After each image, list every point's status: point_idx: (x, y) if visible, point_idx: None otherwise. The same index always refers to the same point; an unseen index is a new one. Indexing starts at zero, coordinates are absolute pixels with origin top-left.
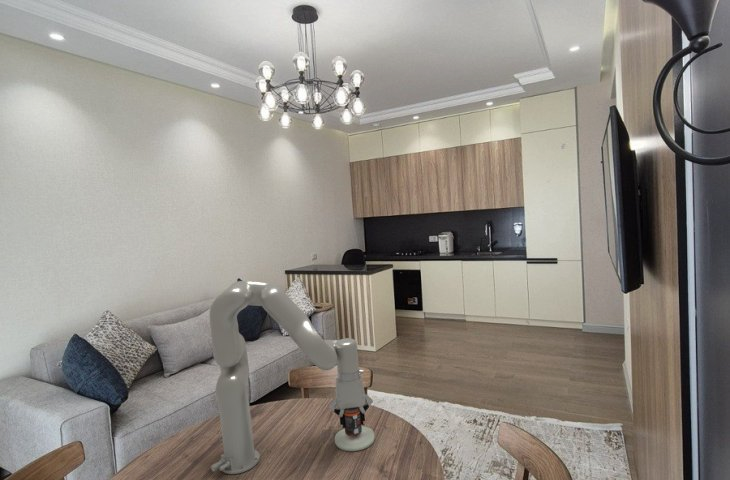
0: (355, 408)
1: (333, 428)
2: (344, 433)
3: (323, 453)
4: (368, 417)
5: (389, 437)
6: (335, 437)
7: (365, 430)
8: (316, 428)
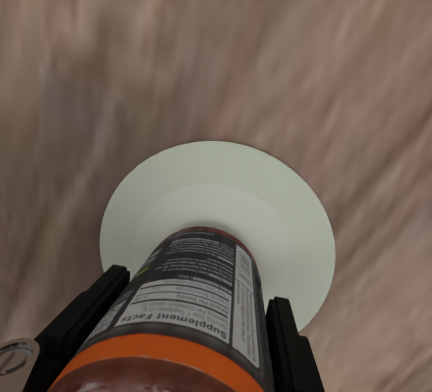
0: None
1: (122, 61)
2: (161, 209)
3: (54, 278)
4: (402, 9)
5: (397, 309)
6: (105, 223)
7: (294, 236)
8: (16, 7)
